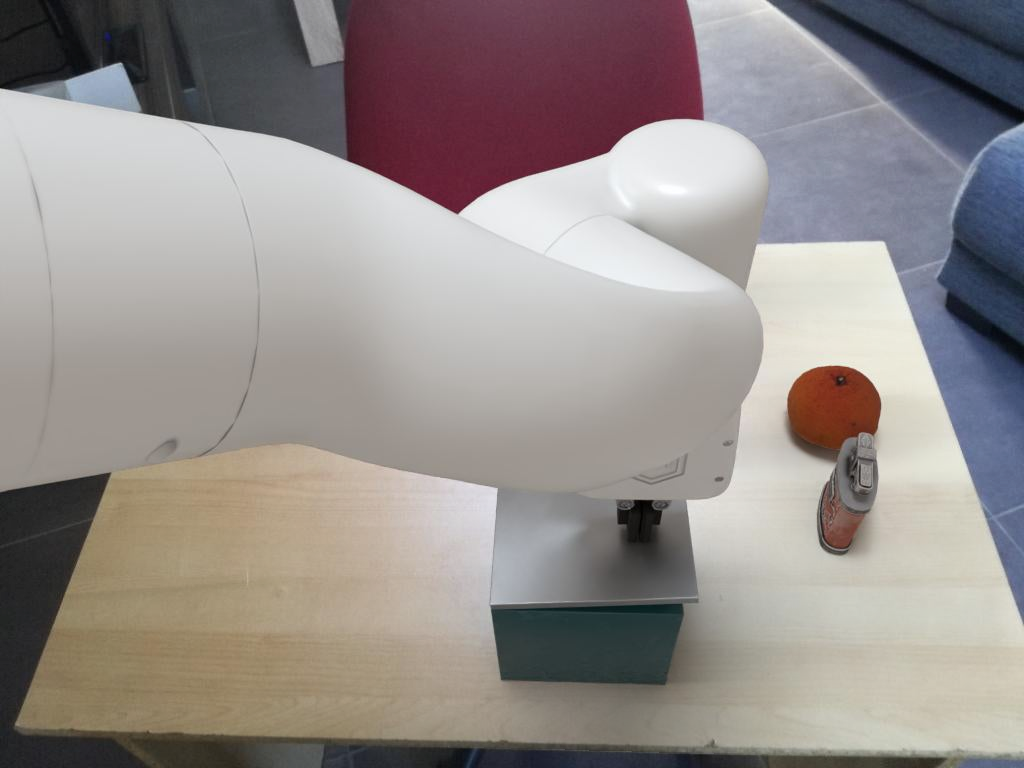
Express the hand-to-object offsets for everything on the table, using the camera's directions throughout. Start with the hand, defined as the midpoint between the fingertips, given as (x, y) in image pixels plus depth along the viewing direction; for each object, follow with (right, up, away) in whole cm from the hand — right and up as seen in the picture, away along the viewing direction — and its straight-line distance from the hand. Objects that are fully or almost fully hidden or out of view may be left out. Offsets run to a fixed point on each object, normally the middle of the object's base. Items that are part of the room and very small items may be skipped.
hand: (637, 523), depth 56 cm
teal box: (-3, -10, +11) cm, 16 cm away
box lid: (-3, -1, +1) cm, 4 cm away
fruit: (+24, +5, +24) cm, 34 cm away
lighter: (+22, -3, +17) cm, 28 cm away
